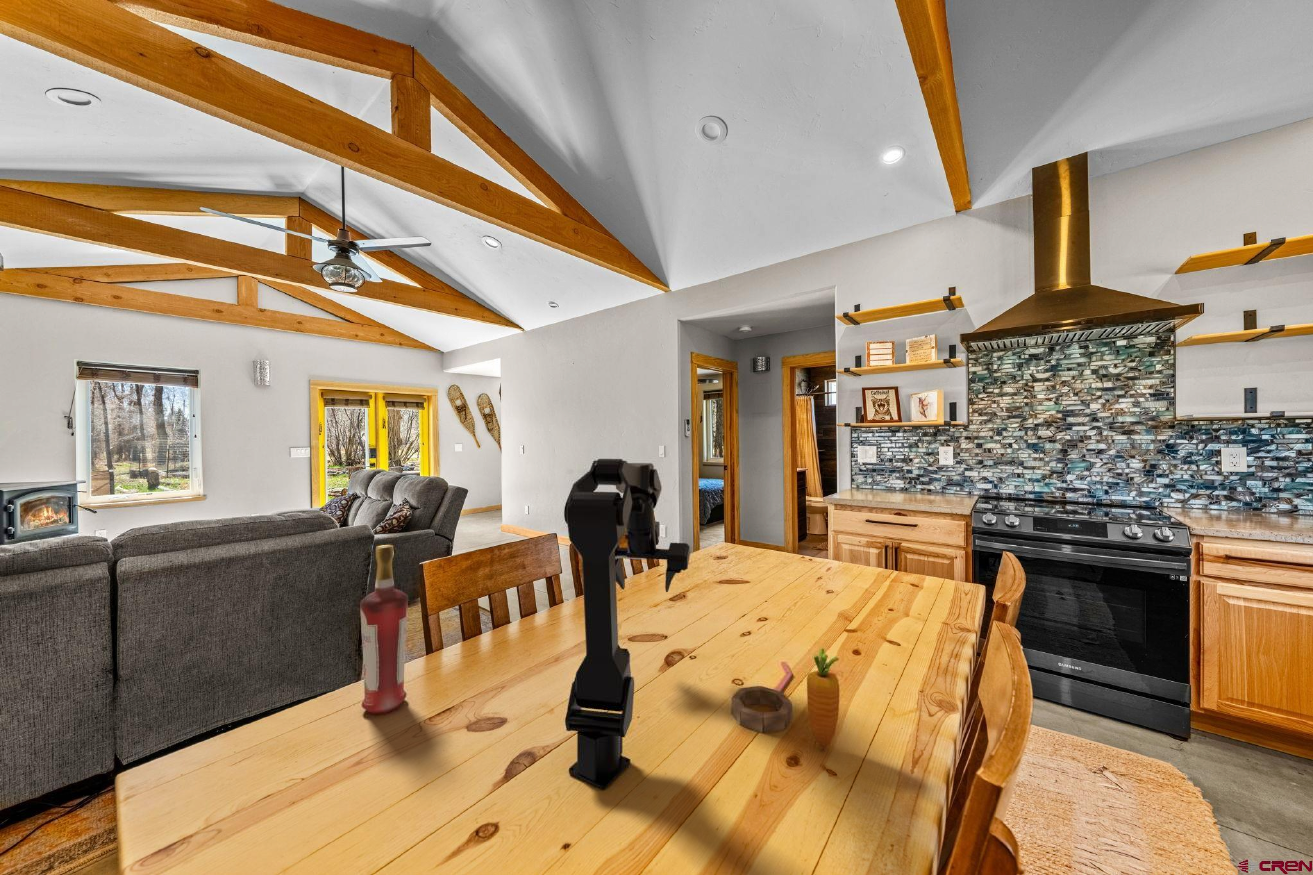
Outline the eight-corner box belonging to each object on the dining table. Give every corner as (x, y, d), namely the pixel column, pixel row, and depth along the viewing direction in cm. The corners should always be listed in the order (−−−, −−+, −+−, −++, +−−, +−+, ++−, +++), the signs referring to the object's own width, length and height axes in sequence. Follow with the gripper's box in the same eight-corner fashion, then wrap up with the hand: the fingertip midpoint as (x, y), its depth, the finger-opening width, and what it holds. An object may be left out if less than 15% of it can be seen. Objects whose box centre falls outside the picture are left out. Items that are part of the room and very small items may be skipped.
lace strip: (772, 703, 87) (772, 701, 87) (754, 698, 88) (754, 695, 88) (798, 667, 100) (798, 664, 100) (781, 663, 102) (781, 660, 102)
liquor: (356, 705, 86) (356, 545, 86) (402, 691, 91) (402, 540, 91) (364, 724, 80) (364, 553, 80) (412, 708, 85) (412, 547, 85)
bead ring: (780, 738, 77) (780, 722, 77) (724, 720, 81) (724, 705, 81) (796, 710, 85) (796, 695, 85) (745, 695, 89) (745, 681, 89)
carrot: (813, 735, 77) (813, 640, 77) (845, 748, 74) (845, 649, 74) (800, 751, 74) (800, 651, 74) (833, 765, 70) (833, 661, 70)
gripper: (691, 504, 102) (694, 568, 107) (604, 502, 105) (611, 564, 110) (685, 533, 91) (688, 602, 97) (589, 529, 95) (597, 596, 100)
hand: (645, 589), depth 101 cm, fingers open, 9 cm apart
